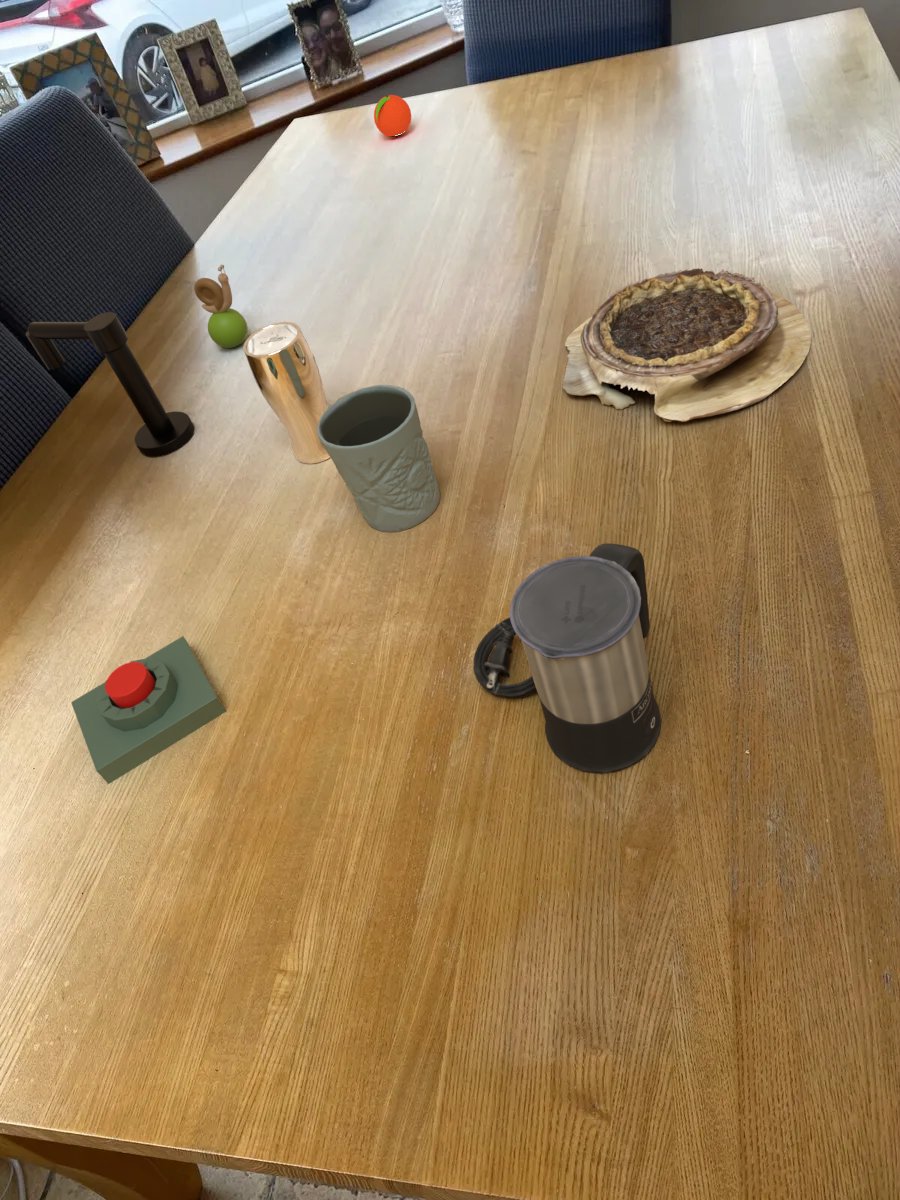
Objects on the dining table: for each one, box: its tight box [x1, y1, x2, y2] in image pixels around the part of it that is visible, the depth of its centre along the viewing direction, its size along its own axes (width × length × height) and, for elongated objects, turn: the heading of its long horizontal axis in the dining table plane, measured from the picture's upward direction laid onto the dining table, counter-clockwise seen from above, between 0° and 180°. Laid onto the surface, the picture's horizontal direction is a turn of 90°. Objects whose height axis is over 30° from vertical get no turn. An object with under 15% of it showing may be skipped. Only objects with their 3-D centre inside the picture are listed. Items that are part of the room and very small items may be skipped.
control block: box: [70, 635, 227, 785], centre depth 87 cm, size 12×10×4 cm
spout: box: [25, 311, 129, 371], centre depth 115 cm, size 15×4×6 cm, turn 66°
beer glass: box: [242, 321, 331, 465], centre depth 107 cm, size 7×7×15 cm
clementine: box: [373, 94, 412, 137], centre depth 173 cm, size 8×7×7 cm
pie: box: [561, 268, 812, 423], centre depth 105 cm, size 28×27×5 cm
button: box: [105, 661, 155, 708], centre depth 85 cm, size 4×4×2 cm
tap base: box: [103, 341, 196, 458], centre depth 117 cm, size 8×8×14 cm
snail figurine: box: [193, 263, 248, 349], centre depth 131 cm, size 5×6×12 cm
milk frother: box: [473, 542, 662, 774], centre depth 72 cm, size 14×16×15 cm
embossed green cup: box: [317, 384, 441, 533], centre depth 96 cm, size 10×10×12 cm
